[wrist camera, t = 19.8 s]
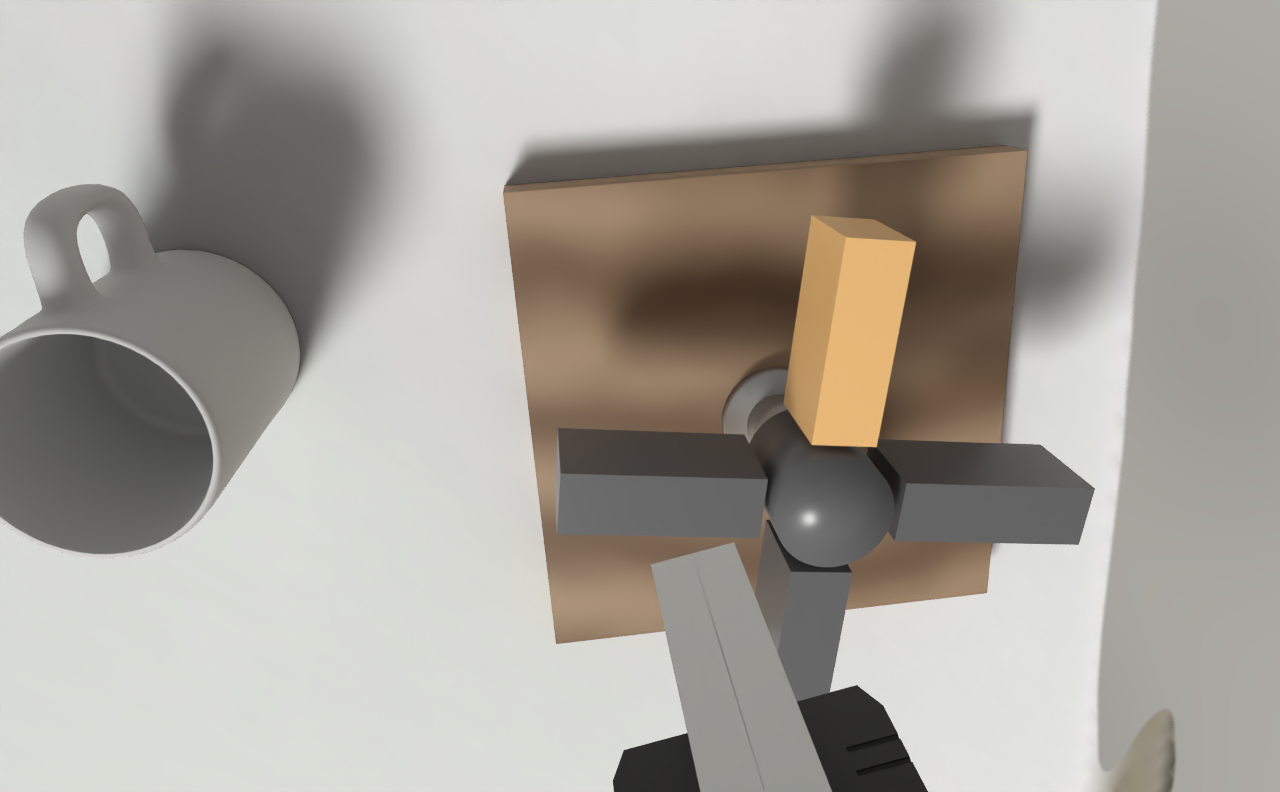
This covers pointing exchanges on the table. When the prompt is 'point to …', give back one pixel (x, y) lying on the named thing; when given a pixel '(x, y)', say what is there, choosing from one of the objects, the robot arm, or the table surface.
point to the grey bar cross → (821, 463)
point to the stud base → (752, 338)
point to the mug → (132, 383)
